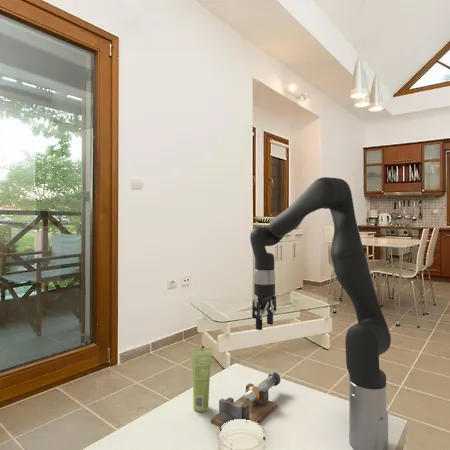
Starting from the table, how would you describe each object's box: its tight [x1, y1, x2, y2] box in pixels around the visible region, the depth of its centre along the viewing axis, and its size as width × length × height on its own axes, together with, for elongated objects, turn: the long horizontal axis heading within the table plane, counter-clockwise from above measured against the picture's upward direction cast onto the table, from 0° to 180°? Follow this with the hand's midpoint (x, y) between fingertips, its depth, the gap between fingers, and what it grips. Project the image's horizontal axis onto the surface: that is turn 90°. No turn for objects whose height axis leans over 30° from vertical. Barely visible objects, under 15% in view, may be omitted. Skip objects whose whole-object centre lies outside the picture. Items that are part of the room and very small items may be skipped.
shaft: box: [241, 371, 282, 405], centre depth 119 cm, size 5×19×5 cm, turn 144°
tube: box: [189, 346, 214, 412], centre depth 115 cm, size 6×5×20 cm
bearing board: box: [210, 382, 278, 428], centre depth 111 cm, size 12×20×7 cm, turn 144°
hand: (264, 326), depth 127 cm, fingers open, 8 cm apart
